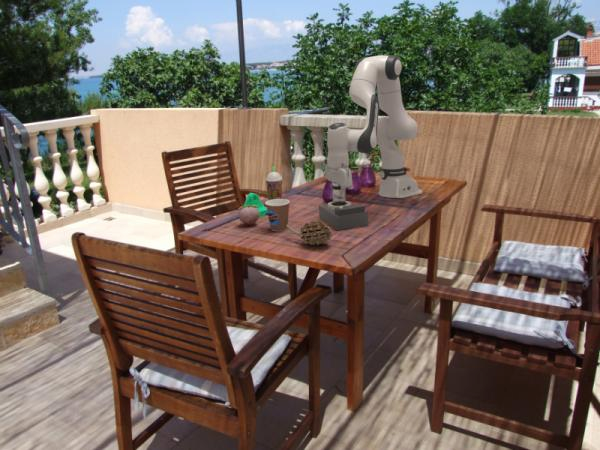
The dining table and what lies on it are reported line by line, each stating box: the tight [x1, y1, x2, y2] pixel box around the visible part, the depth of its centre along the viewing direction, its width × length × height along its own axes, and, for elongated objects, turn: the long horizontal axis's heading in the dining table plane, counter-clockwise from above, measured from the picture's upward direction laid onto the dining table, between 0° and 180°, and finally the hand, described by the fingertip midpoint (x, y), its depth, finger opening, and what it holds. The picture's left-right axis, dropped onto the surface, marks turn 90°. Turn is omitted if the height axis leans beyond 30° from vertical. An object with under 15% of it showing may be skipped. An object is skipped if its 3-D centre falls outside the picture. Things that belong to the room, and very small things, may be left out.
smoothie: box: [265, 165, 283, 201], centre depth 255 cm, size 8×8×20 cm
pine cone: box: [286, 219, 333, 246], centre depth 202 cm, size 22×10×10 cm, turn 56°
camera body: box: [318, 200, 369, 231], centre depth 226 cm, size 14×20×9 cm
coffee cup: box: [265, 198, 291, 232], centre depth 220 cm, size 10×10×12 cm
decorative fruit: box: [237, 203, 260, 226], centre depth 228 cm, size 9×8×10 cm
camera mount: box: [243, 192, 268, 218], centre depth 243 cm, size 12×8×10 cm, turn 129°
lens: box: [331, 182, 346, 206], centre depth 226 cm, size 6×6×10 cm
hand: (339, 193), depth 226 cm, fingers closed on lens, 5 cm apart
